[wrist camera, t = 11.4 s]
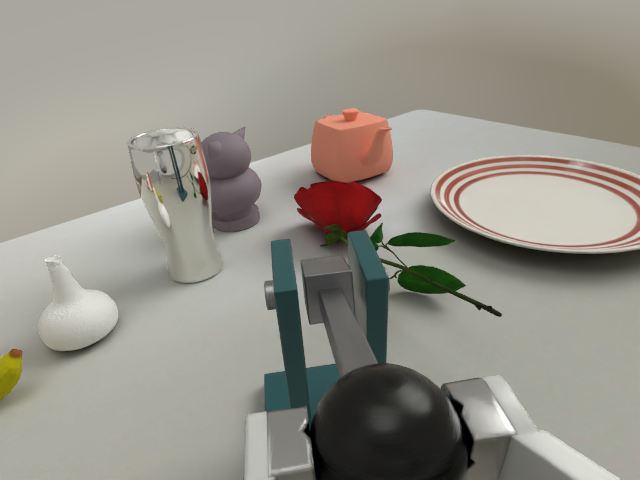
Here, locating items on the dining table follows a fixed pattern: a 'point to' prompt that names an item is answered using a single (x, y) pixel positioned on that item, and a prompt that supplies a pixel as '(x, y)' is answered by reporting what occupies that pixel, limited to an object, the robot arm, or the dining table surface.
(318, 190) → the flower
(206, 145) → the cat figurine
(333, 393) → the ball knob lever
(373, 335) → the teal lever stand
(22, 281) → the dining table surface
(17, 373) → the fruit
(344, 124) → the teapot
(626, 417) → the dining table surface
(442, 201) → the dinner plate
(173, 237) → the beer glass
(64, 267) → the garlic bulb
